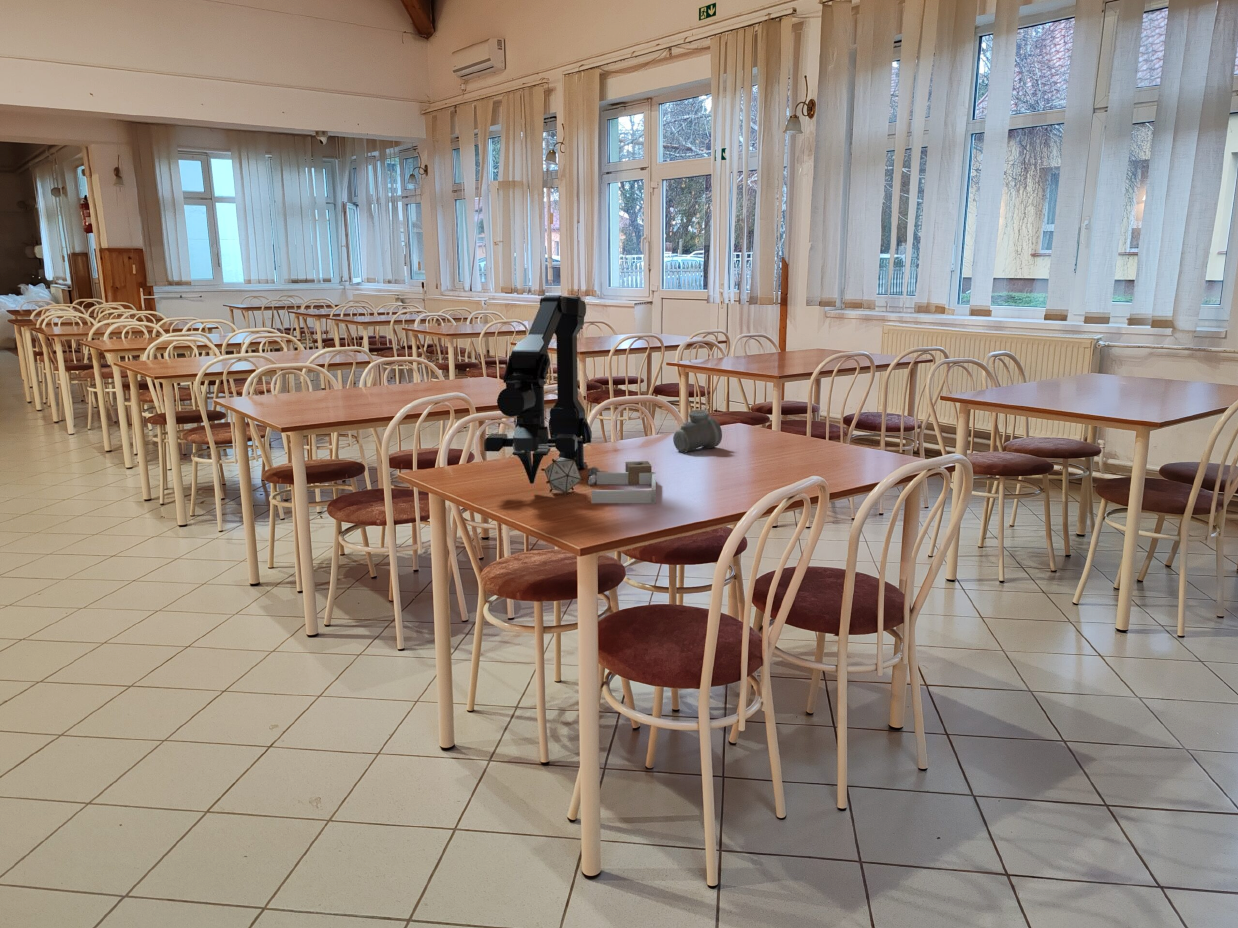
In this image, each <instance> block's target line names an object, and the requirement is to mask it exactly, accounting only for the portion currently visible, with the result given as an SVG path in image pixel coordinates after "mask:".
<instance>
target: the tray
mask: <svg viewBox="0 0 1238 928" xmlns="http://www.w3.org/2000/svg"><path fill="white" fill-rule="evenodd" d="M656 474H657V472H655V471H652V473H639V484H638V485H651V489H603V490H602V489H591V490H590V497H591V498H590V501H591V502H590V503H591V504H656V494H657V493H656V492H657V491H656V489H657V488H656V486H657V485H656V484H657V479H656V477H657V475H656ZM596 485H629V483H628V472H626V471H622V472H621V471H613V472H612V471H607V472H606V471H600V472H597V479H596Z"/></svg>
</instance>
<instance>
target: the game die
mask: <svg viewBox="0 0 1238 928" xmlns="http://www.w3.org/2000/svg"><path fill="white" fill-rule="evenodd" d="M576 459H577V457H575V458H574V460H572V459H567V458H562V457H561V455H560V453H559V454H558V458H556V459H554V458H552V459H551V461H552V463H550V464H549V465H548V466H547V467H546V468H540V470H541V471H542V472H544V474H545V476H546V479H547V481H545V484H547V485H548V484H549V486H550V489H549V493H551V492H553V491H557V492H562V493H564V496H566V497H568V492H569V491H570V490H571V491H575V490H574V489H575V488H574V487H575V486H576V485H577V484H578V483H580V482H581V481H582V482H585V481H586V479H585V478H582V477H581V473H580V470H578V468H579V466H577V465H576V463H575V460H576Z"/></svg>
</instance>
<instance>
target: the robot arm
mask: <svg viewBox="0 0 1238 928" xmlns="http://www.w3.org/2000/svg"><path fill="white" fill-rule="evenodd" d="M586 314H587V305H586V302H585V301H584V300H582V298H581V296H579V295H575V296H574V295H571V296H570V295H567V296H565V295H561V294H558V295H557V294H556V295H555V294H554V295H553V294H551V295H550V294H549V295H547V294H546V295H544V296H541V297H540V300H539V306H538V309H537V312H536V314H535V317H534V319H533V321H532V323H531V326H530V328H529V331H528V332H527V335H526V337H525V338H523V339H521V340H520V341H518V342H517V343H516V344H515V345H514V347H513V348H512V351H511V352H510V354H509V356H508V360H507V363H506V367H505V372H504V377H503V380H502V382H503V383H504V384H505V388H504V389H503V388H502V390H501V391H500V392H499V393H498V396H497V399H496V404H497V409H499V411H500V413H502V414H503V415H504V416H506V417H509V418H514V417H516V424H515V427H514V431H513V435H512V437H508V434H507V433H490V434H489V435H488V436H487V437H486V438H485V439H484V440H483V449H484V450H483V451H484V452H500V451H501V450H502V449H503V448H512V450H513V451H512V453H511V454H512V456H514V457H515V456H517V458H518V459H519V460H520V462H521V463H522V465H523V468H524V470H525V473H526V476H527V479H528V481H529V484H532V485H533V484H534V483H535V480H536V477H537V474H538V471H539V467H540V464H541V463H542V462H541V461H543V459H544V458H543V457H545V456H548V454H549V453H550V451H551V448H555V449H556V450H557V451H558V452H559V454H560V455H561V457H562V458H567V459H572V460H574V458H575V457H577V459H576V460H575V463H576V465H577V466H579V468H578V471H584V470H586V467H587V462H585V459H584V458H585V457H584V456H585V454H584V453H585V451H584V448H585V447H584V445H587V444H591V443H592V438H593V436H592V434H593V432H592V430H591V427H590V424H589V421H588V419H587V418H586V411H585V408H584V406H583V405H582V402H580V400H579V392H578V391H579V389H578V387H579V385H578V382H579V381H578V380H579V378H578V374H579V373H578V335H579V333H580V331H581V329H582V328H583V327H584V324H585V317H586ZM554 335H555V339H556V382H557V383H556V384H557V385H556V388H557V389H556V390H557V391H556V392H557V394H556V395H557V399H556V401H555V403H554V405H553V406H552V407H551V408H550V410H549V421H548V426H546V425H545V423H546V421H545V418H546V416H545V385H546V382H547V381H546V379H547V376H548V371H549V369H550V366H551V359H550V355H549V352H548V351H549V347H550V343H551V341H552V339H553V337H554Z"/></svg>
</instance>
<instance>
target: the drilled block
mask: <svg viewBox="0 0 1238 928" xmlns="http://www.w3.org/2000/svg"><path fill="white" fill-rule="evenodd" d="M624 463H625V465H624V466H625V469H624V470H625V472H628V483H629V484H628V486H631V485H640V484H639V473H652V472H653V471H652V464H651V463H650V462H649V461H648V460H640V461H639V460H635V461H625V462H624Z"/></svg>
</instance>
